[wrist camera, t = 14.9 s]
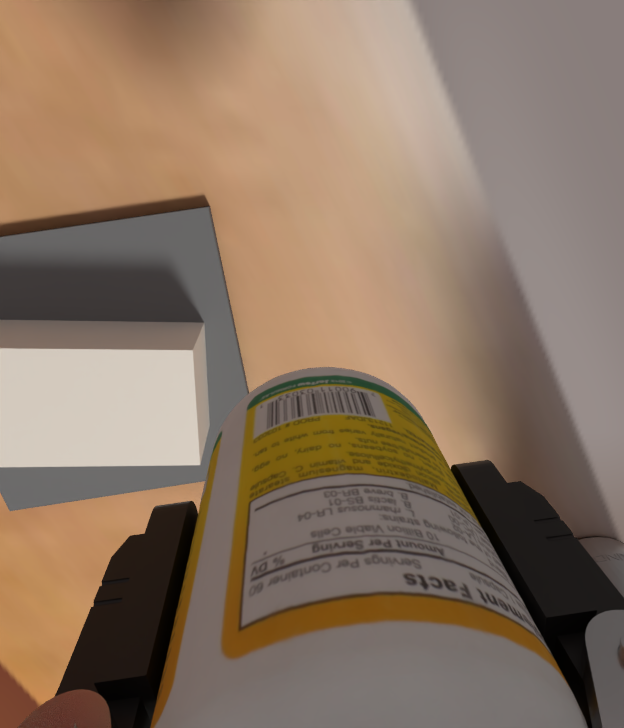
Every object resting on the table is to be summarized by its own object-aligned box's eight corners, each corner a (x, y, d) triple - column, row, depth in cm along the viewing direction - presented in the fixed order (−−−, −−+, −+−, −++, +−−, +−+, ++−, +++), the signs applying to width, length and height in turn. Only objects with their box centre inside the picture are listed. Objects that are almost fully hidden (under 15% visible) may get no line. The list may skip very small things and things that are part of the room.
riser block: (209, 425, 28) (200, 465, 24) (-4, 425, 27) (-47, 467, 23) (204, 322, 26) (192, 350, 22) (-31, 319, 24) (-85, 347, 21)
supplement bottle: (318, 313, 10) (589, 1260, 1) (469, 450, 12) (1004, 1257, 3) (164, 469, 12) (-182, 1461, 3) (321, 572, 13) (411, 1380, 5)
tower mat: (264, 466, 30) (264, 471, 30) (14, 504, 30) (9, 511, 29) (209, 206, 24) (208, 207, 23) (-110, 252, 23) (-119, 254, 23)
